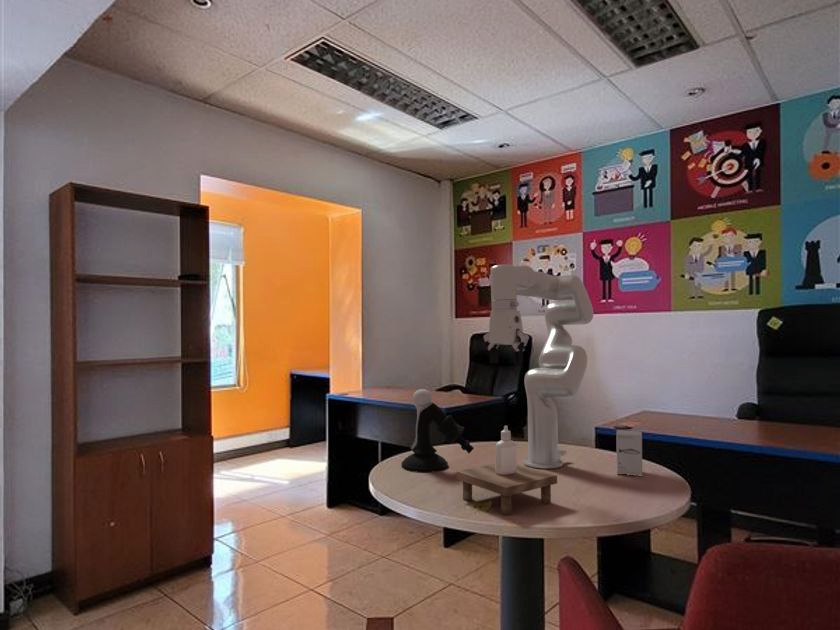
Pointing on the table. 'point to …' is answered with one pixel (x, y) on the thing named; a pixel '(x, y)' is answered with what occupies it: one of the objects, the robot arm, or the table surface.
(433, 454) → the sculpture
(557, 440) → the robot arm
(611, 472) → the table surface
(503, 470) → the eye dropper bottle
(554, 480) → the walnut stool
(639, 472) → the supplement box
